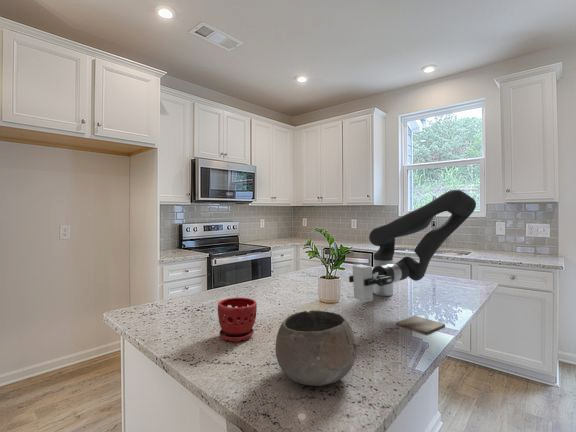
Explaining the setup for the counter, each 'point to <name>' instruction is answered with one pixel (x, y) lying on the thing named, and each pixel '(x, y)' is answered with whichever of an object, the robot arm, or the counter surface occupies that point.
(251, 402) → the counter surface
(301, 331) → the clay pot
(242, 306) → the plant pot
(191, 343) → the counter surface
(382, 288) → the robot arm
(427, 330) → the walnut board
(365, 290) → the skincare box
